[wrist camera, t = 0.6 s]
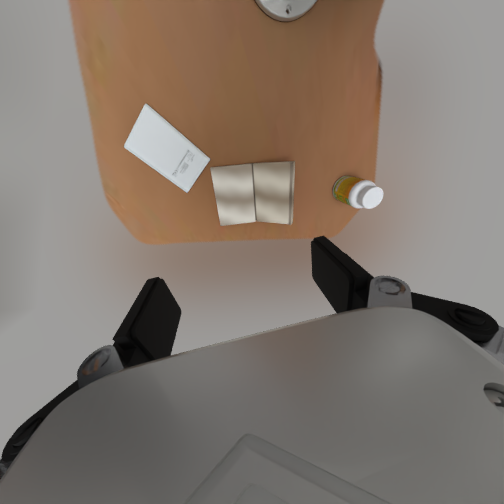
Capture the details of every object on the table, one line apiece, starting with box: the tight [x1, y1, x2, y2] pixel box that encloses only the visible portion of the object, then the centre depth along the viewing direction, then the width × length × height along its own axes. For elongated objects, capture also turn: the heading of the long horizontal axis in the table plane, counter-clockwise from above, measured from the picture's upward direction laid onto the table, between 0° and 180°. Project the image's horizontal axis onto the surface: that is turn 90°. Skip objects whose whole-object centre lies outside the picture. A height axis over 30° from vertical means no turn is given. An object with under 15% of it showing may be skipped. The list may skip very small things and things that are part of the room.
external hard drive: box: [124, 104, 210, 193], centre depth 34 cm, size 2×8×12 cm
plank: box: [253, 161, 295, 225], centre depth 37 cm, size 12×8×1 cm
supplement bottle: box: [333, 176, 383, 209], centre depth 37 cm, size 5×5×10 cm
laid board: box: [210, 163, 257, 226], centre depth 39 cm, size 12×9×1 cm
